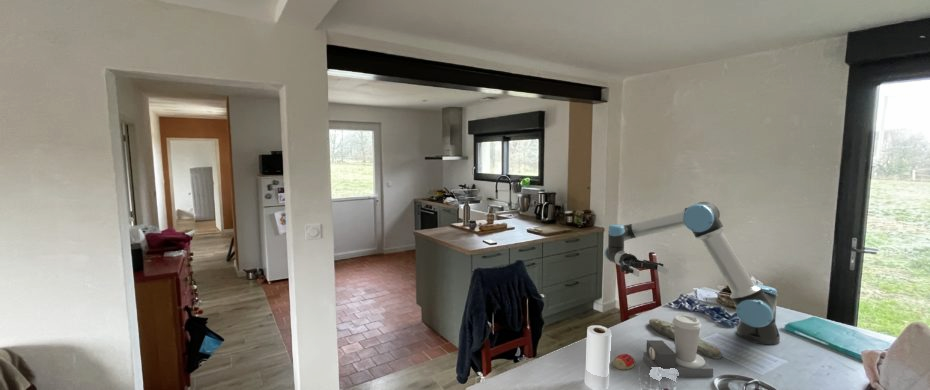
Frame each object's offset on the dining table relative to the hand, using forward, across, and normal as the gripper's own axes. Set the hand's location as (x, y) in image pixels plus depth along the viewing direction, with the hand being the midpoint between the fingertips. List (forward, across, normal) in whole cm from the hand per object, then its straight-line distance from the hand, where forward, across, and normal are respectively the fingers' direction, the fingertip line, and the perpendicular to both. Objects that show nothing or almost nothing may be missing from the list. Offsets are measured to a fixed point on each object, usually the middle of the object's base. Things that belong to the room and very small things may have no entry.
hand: (653, 272), depth 165 cm
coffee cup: (+23, +1, -26) cm, 35 cm away
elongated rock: (+2, -13, -31) cm, 33 cm away
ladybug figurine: (+17, +23, -30) cm, 42 cm away
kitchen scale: (+22, +4, -30) cm, 38 cm away
